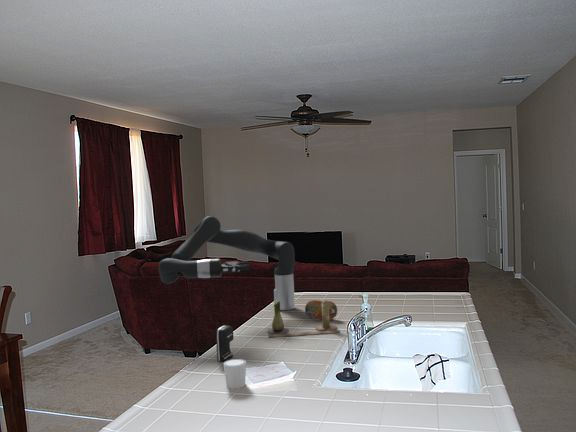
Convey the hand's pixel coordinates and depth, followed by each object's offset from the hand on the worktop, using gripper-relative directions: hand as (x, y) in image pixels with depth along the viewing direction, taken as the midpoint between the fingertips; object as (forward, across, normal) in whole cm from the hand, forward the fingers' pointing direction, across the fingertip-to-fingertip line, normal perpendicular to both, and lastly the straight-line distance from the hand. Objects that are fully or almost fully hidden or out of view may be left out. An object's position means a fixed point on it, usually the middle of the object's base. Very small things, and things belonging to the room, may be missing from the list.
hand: (249, 265), depth 211 cm
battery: (-10, -31, +28) cm, 43 cm away
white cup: (-7, -56, +28) cm, 63 cm away
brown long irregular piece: (+20, -2, +28) cm, 35 cm away
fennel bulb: (+11, 0, +28) cm, 30 cm away
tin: (+31, +16, +29) cm, 46 cm away
